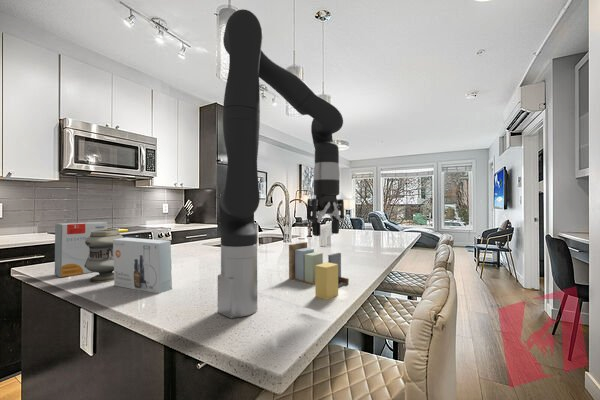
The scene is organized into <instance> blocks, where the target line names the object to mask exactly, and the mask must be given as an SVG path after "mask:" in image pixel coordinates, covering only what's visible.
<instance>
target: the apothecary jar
mask: <svg viewBox="0 0 600 400" xmlns="http://www.w3.org/2000/svg"><path fill="white" fill-rule="evenodd" d="M120 238H125V237H124V236H123V235H122V234H120V230H119V229H118V228H107V229H101V230H93V231H91V234H90V237H88V238H87V239H86V241H85V244H86V245H87V246H89V252H90V257H89V260H88V261H87V262H86V264H85V266H86V268H87V269H88V270H89V271H92V272H91V273H97V274H96V275H94V276H92V277H90V278H89V280H88V281H89V282H91V283H92V282H94V283H107V282H112V281H113V282H114V256H113V240H114V239H120Z"/></svg>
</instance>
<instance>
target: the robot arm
mask: <svg viewBox="0 0 600 400" xmlns="http://www.w3.org/2000/svg"><path fill="white" fill-rule="evenodd" d="M224 28H225V29H224V34H223V41H222V42H223V47H224V49H225V51H226V53H227V54H228V56H229V63H228V64H229V65H228V73H227V79H226V84H225V88H224V89H225V90H224V97H223V104H222V105H223V106H222V107H223V108H222V132H223V139H224V147H225V151H226V159H227V160H226V161H227V166H226V177H225V178H226V179H225V186H224V188H223V189H222V190H221V192H220V193H219V194H220V195H219V200H218V201H219V202H218V203H219V204H218V205H219V206H218V211H219V213H218V214H219V215H218V216H219V218H218V219H219V233H220V234H219V235H220V274H217V313H218V314H220V315H223V316H225V317H227V318H229V319H233V318H234V319H235V318H240V317H241V318H242V317H246V316H251V315H252V314H255V313H256V312H257V311H258V234H257V230H256V226H255V213H256V211H257V210H258V208H259V205H260V185H259V175H258V173H259V172H258V155H259V144H260V142H259V141H260V140H259V139H260V122H261V121H260V120H261V119H260V118H261V117H260V116H261V106H260V105H261V104H260V103H261V101H260V100H261V99H260V94H261V93H260V79H261V80H262V81H264V82H265V83H266V84H267V85H268V86H269V87H271V89H274V91H275V92H276V93H278V94H279V95H280V96H281V97H282V98H283V99H284V100H285V101H286V102H287V103H288V104H289V105H290V106H291V107H292V108H293V109H294V110H295V111H297V113H298V114H300V115H302V116H305V115H306V116H310V117H311V118H312V121H311V125H310V128H311V129H310V131H311V137H312V142H313V143H312V145H313V147H314V168H313V195H314V196H315V198H307V205H306V208H307V209H306V220H307V221H310V222H311V225H312V227H311V228H312V229H311V231H312V236H315V237H320V236H321V220H322V219H323V217H325V215H328V216H329V217H330V218H331V233H332V234H334V235H337V234H340V233H339V231H340V222H341V220H344V218H345V208H344V207H345V205H344V204H345V203H344V199H340V198H337V197H338V196H339V195H340V173H341V171H340V164H339V163H340V155H339V154H340V152H339V150H340V149H339V146H338V144H336V143H335V142H334V140H333V134H336V133H337V132H338V131H340V130H341V129H342V127H343V124H344V117H343V115H342V112H341V111H340V110H339V109H338V108H337V107H336V106H335V105H333V104H332V103H330V101H327V100H326V99H324V98H323V97H321V96H320V95H318V94H317V93H316V92H315V91H314V90H312V88H311V87H310V86H309V85H308V84H307V83H306V82H305V81H304V80H303V79H301V77H299V75H297V74H295V73H294V72H292V71H290V70H288V69H286V68H284V67H282V66H281V65H279V64H277V63H276V62H274V61H273V60H272V59H271V58H269V56H267V55H266V54H265V52H264V51H263V50H262V44H263V39H264V33H263V27H262V24H261V21H260V20H259V18H258V17H257V16H256V14H254V12H252V11H251V10H248V9H244V8H242V9H239V10H238V9H237V10H235V11H234V12H232V14H231V15H230V16H229V17H228V19H227V21H226V24H225V27H224Z"/></svg>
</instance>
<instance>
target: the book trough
mask: <svg viewBox="0 0 600 400" xmlns="http://www.w3.org/2000/svg"><path fill="white" fill-rule="evenodd" d="M302 248H308V242H306V241H304V242H298V243H292V244H289V245H288V279H290V280H293V281H296V282H300V283H305V284H309V285H313V286H315V282H314V283H311V282H307V281H305V280H304V281H303V280H299V279H295V250H297V249H302ZM349 280H350V279H349V278H348V277H344V276H341V282H344V283H346V285H344V286H341V287H339V288H338V289H341V288H343V287H345V286H347V285H349V283H350V282H349Z"/></svg>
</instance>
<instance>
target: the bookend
mask: <svg viewBox="0 0 600 400" xmlns="http://www.w3.org/2000/svg"><path fill="white" fill-rule="evenodd" d="M327 256H328V260H327V261H328V263H334V264H338V289H340V288H342V287H341V286H343V287H345V286H347V285H346V283H344V282H341V277H342V252H336V253H331V254H328V255H327ZM344 285H345V286H344ZM339 287H340V288H339Z"/></svg>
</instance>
